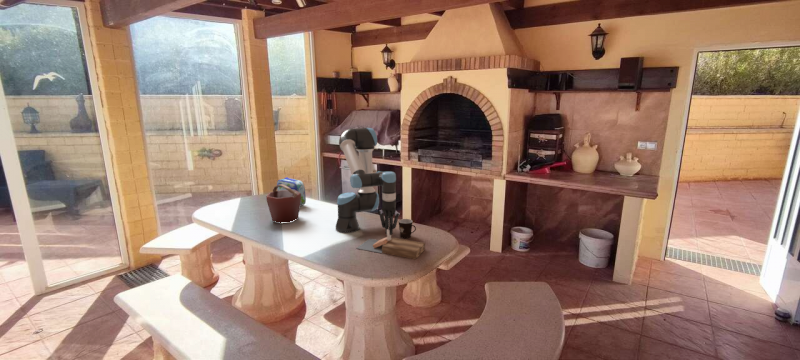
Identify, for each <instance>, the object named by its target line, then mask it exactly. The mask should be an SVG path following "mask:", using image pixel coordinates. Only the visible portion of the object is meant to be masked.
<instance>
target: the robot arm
mask: <svg viewBox="0 0 800 360" xmlns="http://www.w3.org/2000/svg"><path fill="white" fill-rule="evenodd" d="M338 145H339V149H340V150H341V151H342V152H343V155H344V157H345V160H346V163H347V165H348V167H349V168H348V169H349V171H350V173H351V175H350V178H349V182H350V186H351V188H353V189H359V190H357V194H356V193H355V192H352V191H351V192H348V191H347V192H345V193H344V192H343V193H341V194H339V195H338V197H337V201H336V202H337V203H336V204H337V220H336V224H335V231H337V232H338V231H339V233H347V234H348V233H354V232H357V231H358V230H359V229H360V224H359V221H358V219H357V213H363V212H373V211H375V210H377V209H378V208H379V205H380V196H379V193H378V192H377V191H376V189H375V188H374V187H380V186H381V194H382V195H381V199H382V200H381V203H382V204H381V206H382V207H381V209H379V210H378V211H377V213H378V215H379V218H380V223H381V227H382V228H383V229H385V235H386V237H387V241H390V240H391V239H392V235H393V233H394V231H393V230H395V229H396V228H397V224H398V222H399V216H400V215H401V213H400V212H398V211H397V208H396V207H397V206H396V205H397V202H396V200H397V199H396V198H397V191H396V190H397V188H396V186H397V184H396V183H397V174H396V172H394V171H382V170H380V171H379V170H378V171H376V172H374V171H373V151H374V150H375V147H376V146H377V145H378V137H377V133H376V131H375V129H374V128H372V127H357V128H355V127H354V128H347V129H345V130H344V131H343V132H342V133H341V134H340V136H339V139H338Z"/></svg>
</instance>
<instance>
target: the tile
mask: <svg viewBox="0 0 800 360" xmlns="http://www.w3.org/2000/svg"><path fill="white" fill-rule="evenodd" d="M378 240H379V241H377V242H376V243H375V244H373V247H374V248H376V247H379V246H381V245H384V244H386V243H387V242H388V241H387V236H386V237H383V238H381V239H378Z"/></svg>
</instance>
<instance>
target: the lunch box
mask: <svg viewBox="0 0 800 360" xmlns="http://www.w3.org/2000/svg"><path fill="white" fill-rule="evenodd" d="M280 184H283V185H286V186H288V187H289V188H291V189H292V190H296V191H298V192H299V193H301V202H300V207H301V206H304V205H305V204H306V201H307V199H306V198H307V197H306V189H305V184H304V183H303V181H302V180H299V179H295V178H290V177H288V176H287V177H284V178H282V179H278V180H277V182H276V186H277V185H280ZM280 190H287V189H285V188H284V187H282V186H279V187H278V188H277V191H280Z"/></svg>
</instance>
